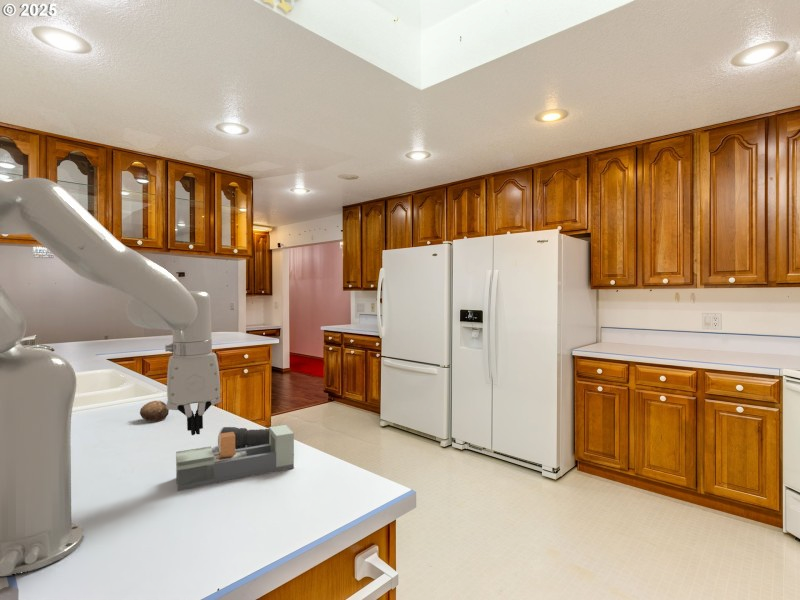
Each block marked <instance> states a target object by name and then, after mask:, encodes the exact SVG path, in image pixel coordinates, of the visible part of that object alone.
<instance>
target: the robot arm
mask: <svg viewBox="0 0 800 600" xmlns="http://www.w3.org/2000/svg"><path fill="white" fill-rule="evenodd" d="M0 235H19V236H20V235H29V236H31V237H32V238H33V239H34V240H36V241H37V242H38V243H39V244H41V245H42V246H43V247H44V248H46V249H47V250H48V251H49V252H51V253H52V254H53V255H54V256H55V257H56V258H58V259H59V260H60V261H61V262H62V263H64V264H65V265H66V266H67V267H68V268H70V269H71V270H72V271H73V272H74V273H76V274H77V275H79V276H80V277H82V278H84V279H86V280H89V281H91V282H94V283H96V284H99V285H103V286H105V287H109V288H113V289H115V290H118V291H120V292H123V293H125V294H127V295H129V296H131V297H130V299H129V300H128V301H127V303H126V306H125V314H126V316H127V319H128V320H129V321H130V323H132V324H133V325H135V326H136V327H140V328H144V329H148V330H149V329H150V330H152V329H153V330H166V331H167V330H169V331H172V342H171V343H170V344H165V347H164V349H165V352H169V353H170V352H171V353H172V355H171V356H169V359H168V362H167V363H168V365H167V373H166V374H167V376H166V377H167V378H166V382H167V383H166V390H167V391H166V395H167V396H166V397H167V401H166V408H167V409H168V410H169V411H170V410H171V411H179V412H180V413H182V414H183V415H184V416H185V417H186V428H187V431H189V432H190V436H194V435H200V434H201V430H202V429H204V420H203V417H204V416H203V415H205V412H206V411H207V410H208V409H210V407H211V406H214V405H217V404H220V403H221V402H222V398H221V380H220V379H221V377H220V370H219V362H218V356H217V354H216V353H215V352H213V347H212V345H213V339H212V338H213V337H212V336H213V335H212V310H211V309H212V307H211V296H210V294H209V293H208V292H207V291H202V290H188V288H186V287H185V286H184V285H183V284H182V283H181V282H180V281H179V280H178V279H177V278H176V277H175V276H174V275H172V274H171V273H170V272H169V271H167V269H165V268H164V267H162V266H161V265H159V264H157V263H156V262H154V261H152V260H151V259H149V258H147V257H145V256H144V255H142V254H140V252H137V251H136V250H134V249H133V248H130V247H128V246H126V245H125V244H123V243H122V242H121V241H120V240H118V238H116V237H115V236H114V235H113V234H112V233H111V232H110V231H109V230H108V229H106V227H104V226H103V225H102V224H101V223H100V221H98V220H97V218H95V217H94V216H93V214H91V212H89V211H88V210H87V209H86V208H85V207H84V206H83V205H82V204H81V203H79V201H78V200H77V199H76V198H74V196H73V195H71V194H70V193H69V192H68V191H67V190H66V189H65V188H63V187H62V186H61V185H60V184H58V183H57V182H54V181H53V180H51V179H48V178H44V177H27V178H21V179H15V180H12V181H7V182H6V181H0ZM26 332H27V321H26V318H25V316H24V313H23V312H22V310H21V309H20V308H19V306H18V305H17V304H16V303H15V301H14V300H13V299H12V297H11V296H9V294H8V292H7V291H6V290H5V289H4V288H3V286H2V284H0V577H8V576H9V577H10V576H13V575H12V574H15V575H17V574H16V573H21V572H25V573H28V572H31V571H35V570H37V569H40V568H44V567H46V566H48V565H51V564H53V563H55V562H58V561H59V560H61V559H63V558H64V557H66V556H68V555H69V554H71V553H72V552H73V551H75V550H76V549H77V548H78V547H79V546H80V545H81V543H82V542H83V540H84V530H83V527H81V526H80V525H78V524H75V523H72V457H71V456H72V453H71V452H72V448H71V447H72V446H71V442H72V441H71V438H72V437H71V434H72V433H71V432H72V431H71V425H72V414H73V407H74V403H75V396H76V392H77V391H76V390H77V376H76V372H75V370H74V368H73V366H72V365H71V364H70V362H69V361H68V360H67V359H65V357H63V356H61V355H59V354H57V353H55V352H51V351H47V350H40V349H33V348H25V347H24V346H23V345H22V344H21V342H22V340H24V337H25V336H26V335H25V334H26ZM191 404H197V408H196V410H195V413H194V410H192V407H191ZM27 571H28V572H27ZM21 574H22V573H21Z"/></svg>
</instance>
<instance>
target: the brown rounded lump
mask: <svg viewBox="0 0 800 600" xmlns="http://www.w3.org/2000/svg"><path fill="white" fill-rule="evenodd" d="M166 405H167V403H165V402H164V401H161V400H152V401H148V402H147V403H145V404H144V405H143V406H141V408H140V411H139V415H140V417H141V418H142V419H143V420H145V422H150V423H157V422H161V421H163V420H166V418H167V417H168V415H169V411H170V410H168V409H167V408H166Z"/></svg>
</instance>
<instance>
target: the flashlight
mask: <svg viewBox="0 0 800 600" xmlns="http://www.w3.org/2000/svg"><path fill="white" fill-rule="evenodd" d="M218 432H219V433H218V437H217V445H218V447H219V434H220V433H227V432H234V434H235V449H241V448H246V447H253V446H259V445H265V444H269V428H265V429H264V428H259V429H248V428H246V427H236V426H223V427H221V428H220V430H219V431H218Z"/></svg>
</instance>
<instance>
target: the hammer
mask: <svg viewBox="0 0 800 600" xmlns="http://www.w3.org/2000/svg"><path fill="white" fill-rule="evenodd" d="M218 436H219V446H218V452H219V454H220V455H217V456H214V462H216V461H222V460H228V459H234V458H239V457H245V456H247V453H246V451H241V452H235V449H236V448H235V434H234V432H227V433H220V434H219V433H218Z"/></svg>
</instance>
